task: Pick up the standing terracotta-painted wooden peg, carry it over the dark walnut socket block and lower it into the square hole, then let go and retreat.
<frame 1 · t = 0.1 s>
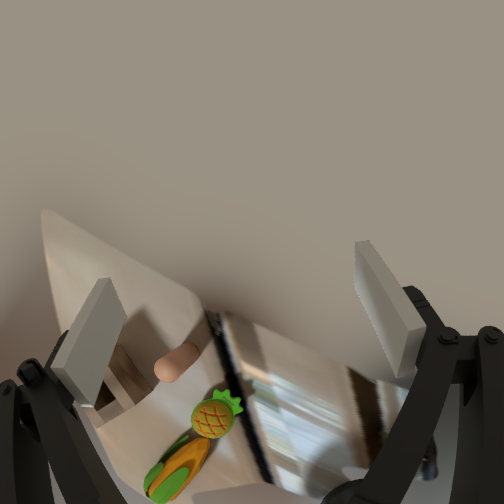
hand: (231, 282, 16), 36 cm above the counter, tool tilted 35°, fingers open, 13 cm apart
socket block: (117, 380, 51), on the counter
peg: (188, 352, 51), on the counter
toy pineapple: (218, 408, 50), on the counter, touching corn
corn: (181, 461, 49), on the counter, touching toy pineapple
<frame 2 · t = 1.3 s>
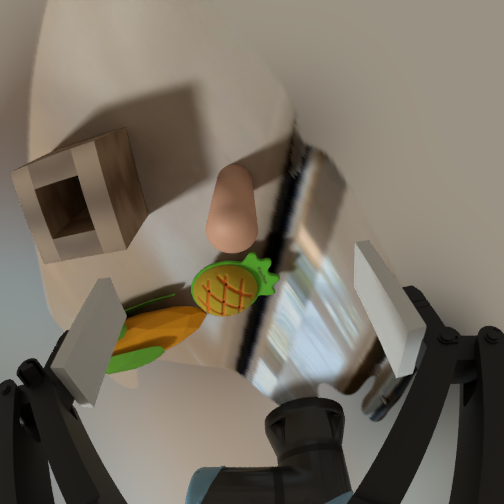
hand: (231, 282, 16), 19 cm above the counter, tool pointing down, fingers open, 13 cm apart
socket block: (96, 182, 32), on the counter
peg: (234, 181, 33), on the counter
toy pineapple: (234, 271, 38), on the counter, touching corn
corn: (144, 317, 41), on the counter, touching toy pineapple
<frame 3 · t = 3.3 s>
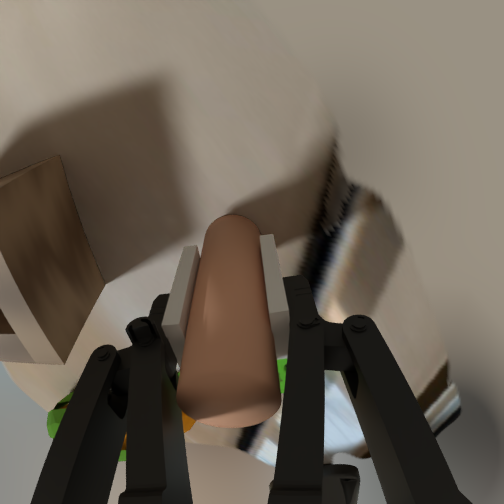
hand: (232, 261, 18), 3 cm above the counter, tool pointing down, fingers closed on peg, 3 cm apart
socket block: (30, 236, 20), on the counter
peg: (232, 240, 21), on the counter, touching gripper
corn: (119, 395, 29), on the counter
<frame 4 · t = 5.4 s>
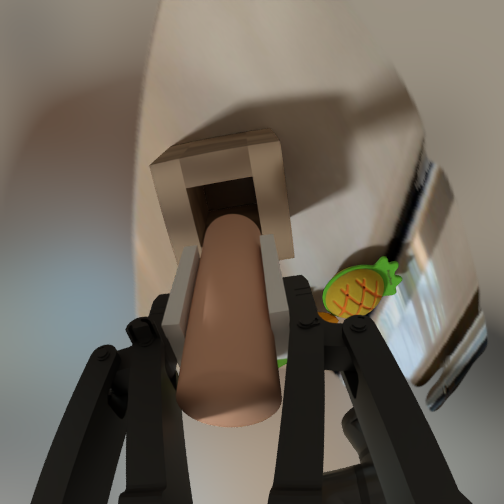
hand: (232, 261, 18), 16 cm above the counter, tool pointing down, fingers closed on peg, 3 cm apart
socket block: (228, 183, 32), on the counter
peg: (233, 240, 21), point 13 cm above the counter, touching gripper
toy pineapple: (355, 274, 39), on the counter
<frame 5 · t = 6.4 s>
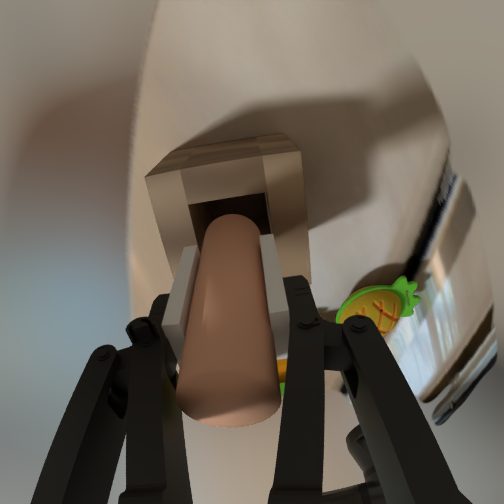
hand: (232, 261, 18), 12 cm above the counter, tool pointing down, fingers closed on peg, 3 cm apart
socket block: (235, 195, 29), on the counter
peg: (232, 240, 20), point 9 cm above the counter, touching gripper
toy pineapple: (370, 294, 35), on the counter, touching corn
when the fingers open (9 cm above the counter, at t = 7.3 s): peg drops 6 cm, on the counter.
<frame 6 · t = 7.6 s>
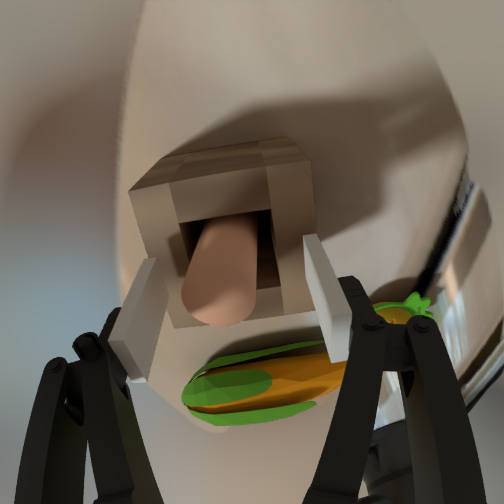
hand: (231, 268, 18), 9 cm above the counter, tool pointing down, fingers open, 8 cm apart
socket block: (234, 206, 26), on the counter
peg: (235, 206, 26), on the counter
toy pineapple: (380, 309, 32), on the counter
corn: (267, 358, 35), on the counter
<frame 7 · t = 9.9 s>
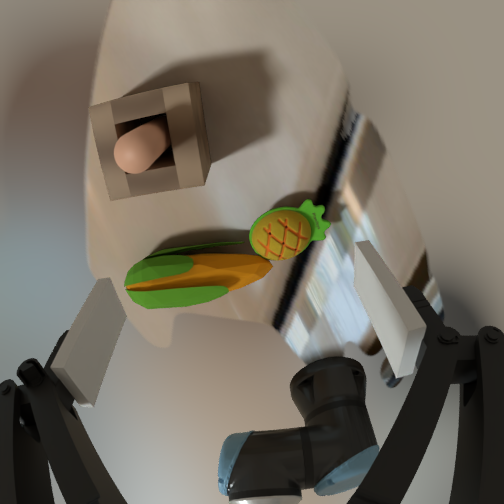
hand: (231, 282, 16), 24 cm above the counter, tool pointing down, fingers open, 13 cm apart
socket block: (163, 130, 35), on the counter
peg: (164, 130, 35), on the counter
toy pineapple: (286, 220, 41), on the counter
corn: (197, 259, 44), on the counter
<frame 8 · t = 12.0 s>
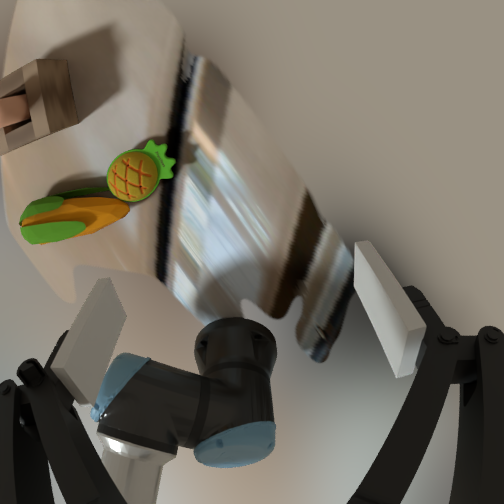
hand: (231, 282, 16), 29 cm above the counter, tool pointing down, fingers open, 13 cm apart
socket block: (45, 102, 35), on the counter
peg: (45, 102, 35), on the counter
toy pineapple: (145, 166, 42), on the counter
corn: (79, 206, 44), on the counter
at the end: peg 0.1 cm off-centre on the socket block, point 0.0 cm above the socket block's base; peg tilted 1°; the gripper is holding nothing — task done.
